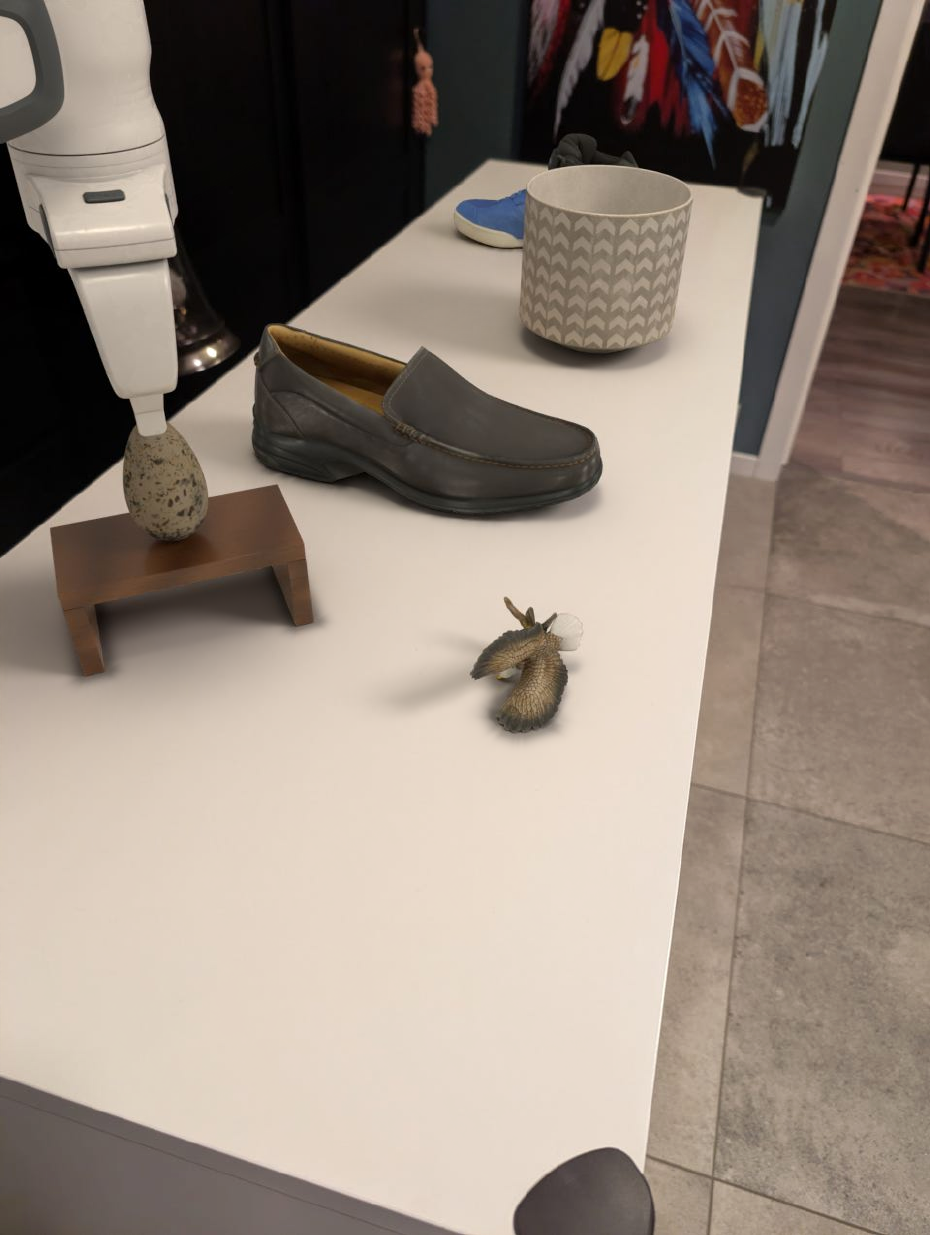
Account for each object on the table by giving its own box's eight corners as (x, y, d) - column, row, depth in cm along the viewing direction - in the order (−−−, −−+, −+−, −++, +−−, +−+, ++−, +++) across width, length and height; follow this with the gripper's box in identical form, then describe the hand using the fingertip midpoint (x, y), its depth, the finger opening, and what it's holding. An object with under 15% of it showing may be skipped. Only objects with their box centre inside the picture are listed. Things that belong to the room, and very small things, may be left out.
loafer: (588, 540, 88) (603, 412, 80) (226, 483, 94) (204, 359, 86) (607, 467, 98) (623, 347, 89) (278, 420, 104) (263, 304, 96)
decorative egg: (228, 519, 76) (207, 405, 69) (193, 563, 71) (168, 445, 65) (159, 508, 77) (133, 394, 70) (121, 551, 72) (89, 433, 66)
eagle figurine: (474, 628, 76) (444, 688, 69) (529, 569, 73) (504, 626, 65) (547, 686, 77) (526, 752, 70) (605, 631, 74) (590, 694, 66)
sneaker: (466, 220, 155) (467, 109, 145) (645, 243, 148) (660, 128, 138) (440, 245, 146) (439, 129, 136) (629, 271, 139) (644, 150, 129)
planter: (660, 382, 112) (685, 223, 101) (502, 361, 116) (509, 205, 104) (676, 319, 126) (700, 172, 115) (535, 302, 130) (544, 158, 118)
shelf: (84, 676, 73) (57, 595, 68) (75, 606, 80) (49, 527, 75) (313, 622, 79) (304, 543, 73) (287, 560, 85) (277, 483, 80)
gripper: (34, 148, 64) (82, 344, 73) (53, 249, 50) (111, 479, 58) (131, 141, 66) (167, 333, 75) (178, 236, 51) (215, 461, 60)
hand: (143, 398), depth 66 cm, fingers open, 8 cm apart
